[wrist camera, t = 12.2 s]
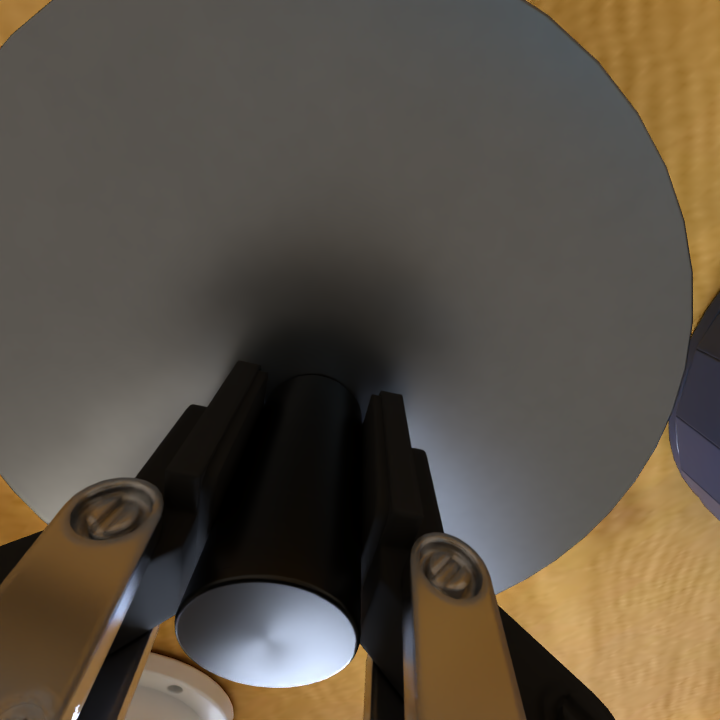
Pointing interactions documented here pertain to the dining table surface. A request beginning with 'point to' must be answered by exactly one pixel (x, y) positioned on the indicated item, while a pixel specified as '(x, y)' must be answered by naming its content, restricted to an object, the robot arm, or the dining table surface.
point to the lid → (332, 283)
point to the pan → (700, 413)
